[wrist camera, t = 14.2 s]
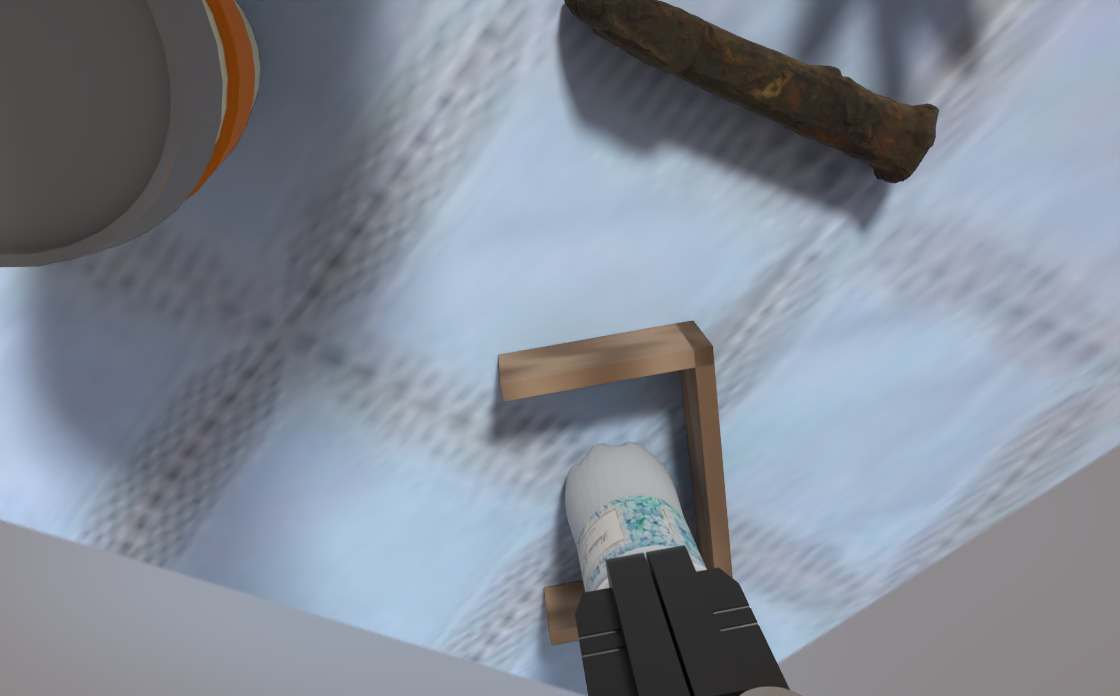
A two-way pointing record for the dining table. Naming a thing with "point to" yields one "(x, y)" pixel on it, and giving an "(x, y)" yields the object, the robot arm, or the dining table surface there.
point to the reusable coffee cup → (113, 116)
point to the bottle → (623, 509)
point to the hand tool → (769, 83)
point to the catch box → (621, 362)
